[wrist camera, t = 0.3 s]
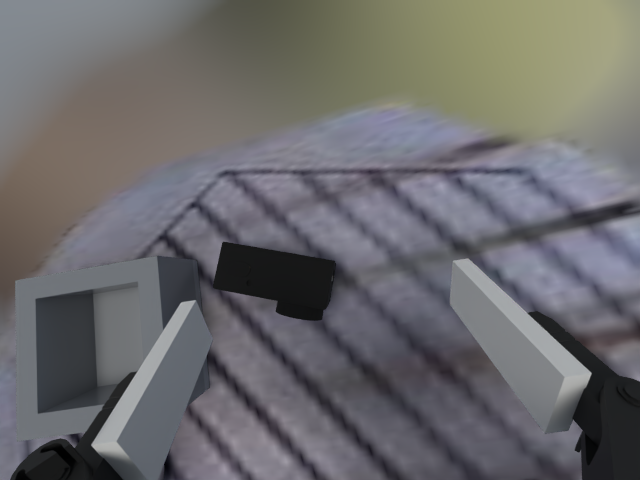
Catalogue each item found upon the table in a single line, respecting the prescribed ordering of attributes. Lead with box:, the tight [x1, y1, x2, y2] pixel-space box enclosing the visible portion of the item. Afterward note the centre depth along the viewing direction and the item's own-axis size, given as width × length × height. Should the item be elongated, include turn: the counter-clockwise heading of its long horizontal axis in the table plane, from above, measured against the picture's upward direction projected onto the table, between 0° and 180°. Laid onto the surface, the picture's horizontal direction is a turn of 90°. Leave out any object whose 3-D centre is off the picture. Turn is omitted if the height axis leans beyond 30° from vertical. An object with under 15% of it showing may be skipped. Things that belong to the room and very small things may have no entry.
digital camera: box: [213, 242, 336, 321], centre depth 28 cm, size 10×5×7 cm, turn 80°
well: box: [15, 256, 210, 441], centre depth 28 cm, size 14×14×7 cm
